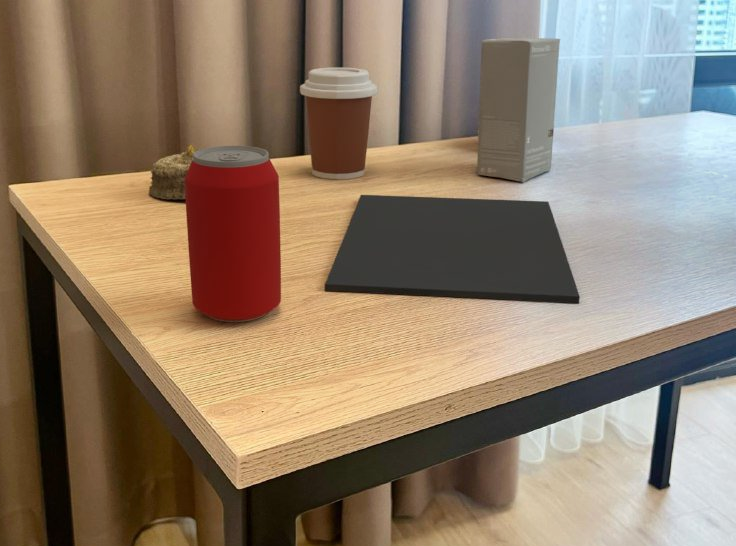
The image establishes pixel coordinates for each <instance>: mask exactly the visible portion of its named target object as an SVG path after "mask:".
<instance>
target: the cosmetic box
mask: <svg viewBox="0 0 736 546" xmlns="http://www.w3.org/2000/svg"><path fill="white" fill-rule="evenodd" d="M560 43H561V38H553V37H552V38H551V37H549V38H547V37H544V38H543V37H540V38H539V37H538V38H537V37H504V38H502V37H501V38H500V37H499V38H497V37H496V38H491V39H490V38H489V39H488V38H487V39H483V40H481V47H480V49H481V51H480V72H479V73H480V76H479V77H480V79H479V102H478V103H479V105H478V129H477V134H478V135H477V140H478V141H477V160H476V174H477V175H481V176H488V177H494V178H501V179H506V180H511V181H516V182H522V183H524V182H526V181H528V180H530V179H533V178H535V177H537V176H539V175H541V174H544V173H546V172H549V171H551V170H552V160H553V146H554V145H553V143H554V132H555V131H554V128H555V117H556V116H555V115H556V102H557V101H556V100H557V99H556V98H557V87H558V86H557V85H558V71H559V57H560V56H559V55H560V45H561V44H560Z"/></svg>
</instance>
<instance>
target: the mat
mask: <svg viewBox="0 0 736 546" xmlns="http://www.w3.org/2000/svg"><path fill="white" fill-rule="evenodd" d="M352 213H353V214H352V216H351V219H350V221H349V224H348V226H347V228H346V231H345V233H344V236H343V238H342V241H341V243H340V246H339V248H338V250H337V253H336V256H335V257H334V261H333V263H332V266H331V268H330V270H329V272H328V275H327V278H326V280H325V283H324V291H326V292H342V293H343V292H344V293H363V294H364V293H366V294H369V293H370V294H386V295H405V296H407V295H408V296H425V297H426V296H427V297H430V296H431V297H445V298H446V297H447V298H465V299H485V300H486V299H488V300H505V301H506V300H507V301H508V300H509V301H528V302H550V303H567V304H568V303H570V304H579V303H580V297H581V296H580V294H579V291H578V288H577V284H576V281H575V278H574V275H573V272H572V268H571V266H570V263H569V260H568V257H567V253H566V251H565V248H564V245H563V243H562V238H561V235H560V233H559V230H558V226H557V224H556V221H555V217H554V215H553V212H552V208H551V205H550V202H549V201H545V200H540V201H539V200H517V199H493V198H492V199H488V198H487V199H486V198H465V197H464V198H462V197H461V198H460V197H438V196H437V197H435V196H408V195H407V196H405V195H384V194H383V195H380V194H379V195H378V194H377V195H376V194H360V196H359V198H358V201H357V204H356V206H355V208H354V211H353V212H352Z"/></svg>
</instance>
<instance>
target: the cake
mask: <svg viewBox="0 0 736 546" xmlns="http://www.w3.org/2000/svg"><path fill="white" fill-rule="evenodd" d="M194 152H196V151H195V149H194V147H193V145H192V143H190V144H189V145H188V146H187V147H186V151H185V152H181V153H180V154H179V153H177V154H172V155H167V156H165V157H162V158H159V159H158V160H156V162H154V163H153V165H152V170H151V171H150V174H151V177H150V179H151V181H150V185H149V186H148V188H149V189H148V194H149V196H151V197H152V198H156V199H161V200H180V201H181V200H186V197H185V175H186V173H187V171H188V169H189V166H190V164H191V162H192V160H193V153H194Z"/></svg>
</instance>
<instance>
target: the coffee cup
mask: <svg viewBox="0 0 736 546" xmlns="http://www.w3.org/2000/svg"><path fill="white" fill-rule="evenodd" d="M378 89H379V88H378V86H377V85H376V84H375V83H373V81H372V79H370V72H369V71H368V70H367V69H364V68H357V67H356V68H355V67H320V68H314V69H311V70H309V71H308V79H306V80H305V81H304V83H303V84H300V86H299V93H300V94H301V95H302V96H305V105H306V117H307V126H308V129H307V130H308V140H309V148H310V150H309V151H310V161H311V174H312V176H314V177H316V178H321V179H322V178H323V179H326V180H327V179H328V180H348V179H349V180H350V179H356V178H360V177H363V176H364V175H365V174H366V161H367V150H368V139H369V129H370V120H371V111H372V110H371V109H372V100H373V96H376V95H377V94H378Z"/></svg>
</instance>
